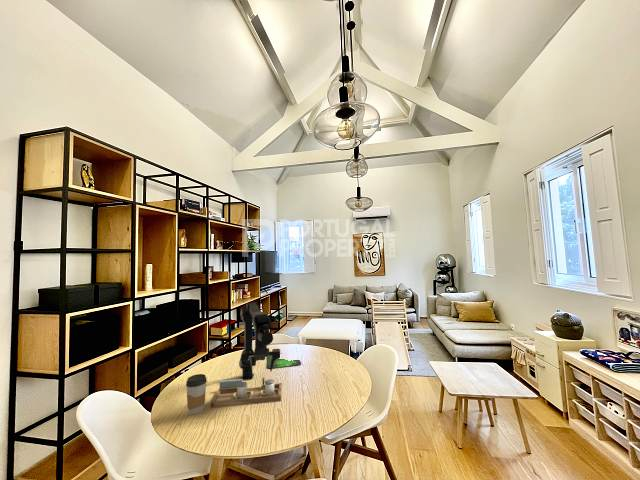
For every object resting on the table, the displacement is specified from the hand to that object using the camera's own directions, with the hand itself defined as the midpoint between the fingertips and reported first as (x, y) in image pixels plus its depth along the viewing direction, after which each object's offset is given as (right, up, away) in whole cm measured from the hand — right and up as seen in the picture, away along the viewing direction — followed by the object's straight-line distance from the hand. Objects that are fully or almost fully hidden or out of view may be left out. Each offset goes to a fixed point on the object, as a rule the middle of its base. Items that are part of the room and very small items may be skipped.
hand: (261, 372), depth 127 cm
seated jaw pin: (-8, -10, -4) cm, 14 cm away
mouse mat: (+4, -17, +49) cm, 52 cm away
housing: (-6, -12, -1) cm, 13 cm away
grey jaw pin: (+5, -10, -2) cm, 11 cm away
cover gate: (-16, -11, +5) cm, 21 cm away
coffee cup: (-26, -12, -13) cm, 31 cm away
